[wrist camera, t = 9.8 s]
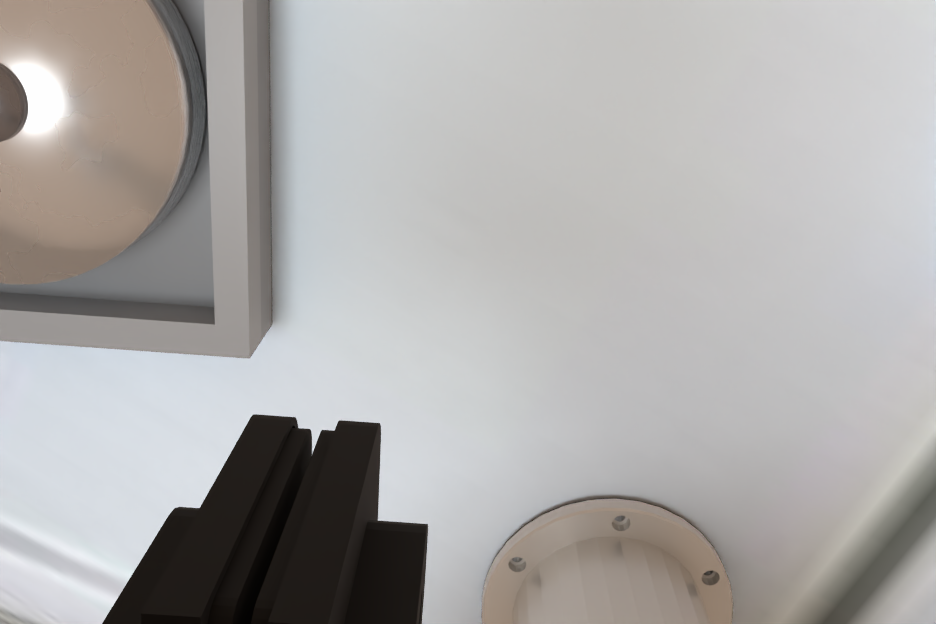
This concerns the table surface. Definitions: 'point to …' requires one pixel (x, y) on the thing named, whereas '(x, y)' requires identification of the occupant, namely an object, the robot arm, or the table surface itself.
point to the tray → (185, 225)
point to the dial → (91, 130)
